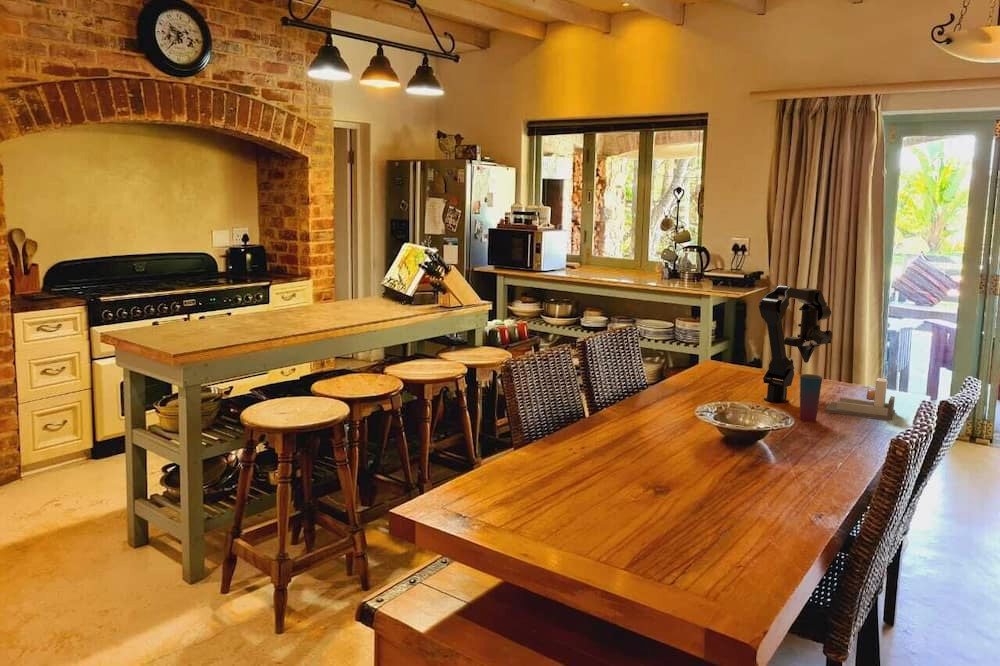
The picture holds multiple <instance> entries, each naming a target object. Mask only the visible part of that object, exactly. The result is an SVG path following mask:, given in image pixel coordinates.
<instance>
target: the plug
mask: <svg viewBox="0 0 1000 666" xmlns="http://www.w3.org/2000/svg"><path fill="white" fill-rule="evenodd" d="M887 385H888V378H882V377H877V379H875V388H874V389H867V392H866V400H868V401H874V406H877V407H885V403H886V398H887V397H886V395H887V387H888V386H887Z"/></svg>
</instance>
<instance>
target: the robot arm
mask: <svg viewBox="0 0 1000 666" xmlns="http://www.w3.org/2000/svg"><path fill="white" fill-rule="evenodd" d="M779 297H780V298H784V299H783V300H782V299H779ZM790 299H795V300H797V301H798V302H799V303H800V304H802V305H801V306H800V307H798V310H799V311H801V316H800V317H801V318H800V323H798V324H797V326H798V328H800V330H799V334H797V336H786V337H784V330H783V329H784V328H783V322H782V321H783V318H784V317H785V314H786V309H788V308H789V306H790ZM758 309H759V313H760V317H761V319H763V321H765V323H766V327H767V333H768V340H769V347H770V354H771V360H770V361H769V364H768V369H767V370H766V373H765V374H764V376H763V378H762V381H763V384H767V391H766V397H763V400H764V401H768V402H771V403H772V404H773V403H774V404H781V403H788V402H790V400H789V399H787V395H788V394H787V393H788V388H787V387H791V386H792V383H793V379H794V376H795V370H794V369H795V367H794V360H793V359H792V358H788V357H787V353H786V346H791V347H795V348H797V349H798V351H799V352H800V353H799V354H800V355H801V358H802V360H803V362H804V363H805V364H808V363H809V362H810V359H811V357H812V355H813V353H814V351H815V349H817V348H819V347H820V346H821V345H827V344H831V343H832V339H833V331H831V330H830V329H827V330H821V326H820V325H819V324H818V321H823V320H827V319H830V317H831V315H832V311H831V310H832V309H831V308H830V306H829V305H828V303H827V301H826V299H825V296H824V294H823V292H822V290H821V289H818V288H807V287H802V288H795V287H792V286H790V285H789V286H786V285H777V286H776V287H775V289H773V290H772V291H770V292H769V293H767V294H766V295H764V297H763V298H762V299H761V300H760V302H759V304H758Z"/></svg>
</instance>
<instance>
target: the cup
mask: <svg viewBox="0 0 1000 666" xmlns="http://www.w3.org/2000/svg"><path fill="white" fill-rule="evenodd" d="M799 380H800V381H799V420H800V421H802V422H804V423H805V422H806V423H814V422H816V421H817V415H818V409H819V403H820V395H821V390H822V389H821V388H822V381H823V376H821V375H818V374H811V373H804V374H803V373H802V374H800V377H799Z"/></svg>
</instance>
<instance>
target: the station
mask: <svg viewBox="0 0 1000 666" xmlns="http://www.w3.org/2000/svg"><path fill="white" fill-rule="evenodd" d="M895 398H896V397H895V396H892V395H891V396H890V398H889V400H888V402H885V407H877V406H874V400H867V399H859V398H852V397H851V398H850V397H843V396H840V397H839V401H831V402H829V405H828V406H827V407H826V409H825V412H826V413H832V414H840V415H846V416H853V417H861V418H868V419H869V418H870V419H876V420H882V421H883V420H884V421H889V422H892V421H893V419H894V416H895V413H896V410H895V409H894V408H895Z"/></svg>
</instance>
